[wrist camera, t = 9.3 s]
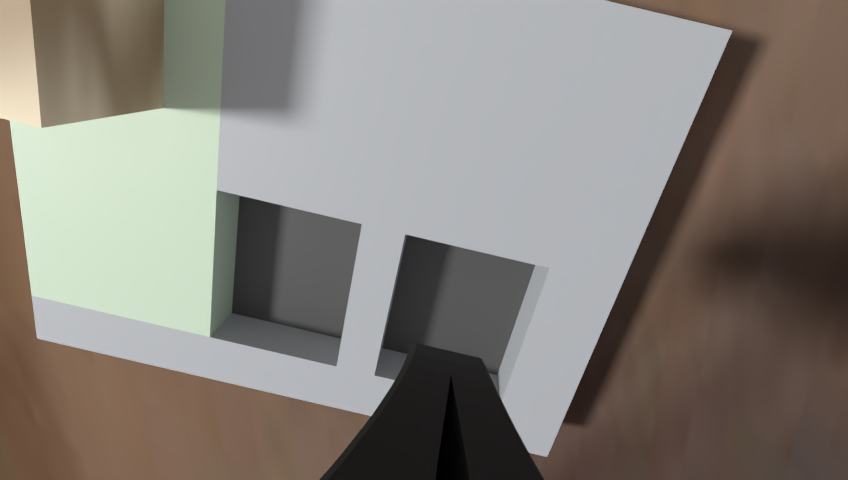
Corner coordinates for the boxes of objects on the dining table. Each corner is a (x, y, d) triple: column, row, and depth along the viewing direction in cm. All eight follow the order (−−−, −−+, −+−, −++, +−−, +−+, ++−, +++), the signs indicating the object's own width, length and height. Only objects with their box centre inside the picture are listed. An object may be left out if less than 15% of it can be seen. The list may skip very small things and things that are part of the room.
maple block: (162, 108, 14) (41, 128, 10) (23, 73, 14) (-156, 79, 10) (164, -55, 13) (20, -109, 9) (6, -94, 13) (-215, -168, 9)
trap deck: (539, 420, 20) (547, 456, 18) (76, 312, 20) (37, 338, 18) (697, 34, 14) (732, 30, 12) (39, -123, 14) (-24, -150, 12)
